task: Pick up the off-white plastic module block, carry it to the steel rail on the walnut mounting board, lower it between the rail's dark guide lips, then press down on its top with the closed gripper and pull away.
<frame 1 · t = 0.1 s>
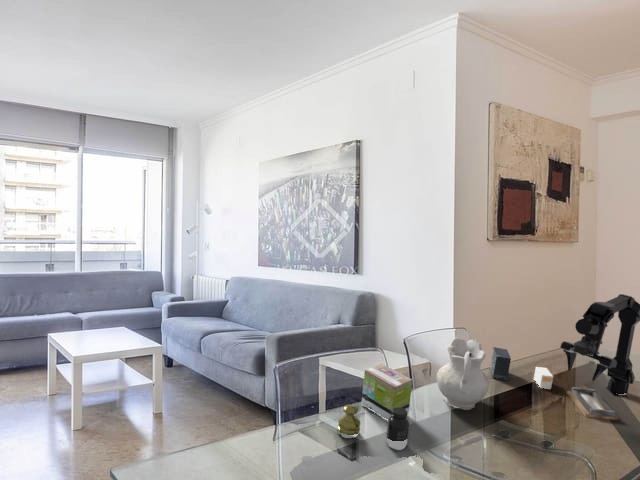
hand: (581, 375, 186), 15 cm above the table, tool pointing down, fingers open, 9 cm apart
module block: (542, 384, 211), on the table
ceramic pitcher: (460, 404, 190), on the table
small box: (498, 375, 218), on the table
rail mount: (591, 406, 196), on the table
supplement bottle: (396, 445, 161), on the table
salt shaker: (348, 433, 165), on the table
tea box: (384, 411, 181), on the table
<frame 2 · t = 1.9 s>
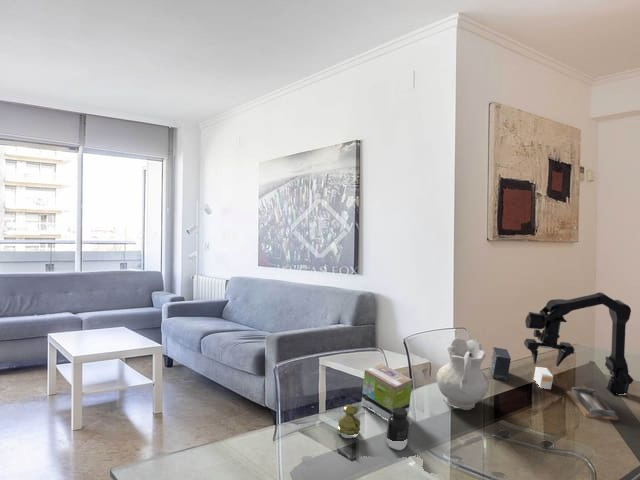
hand: (545, 364, 210), 9 cm above the table, tool pointing down, fingers open, 9 cm apart
nothing on the table moved.
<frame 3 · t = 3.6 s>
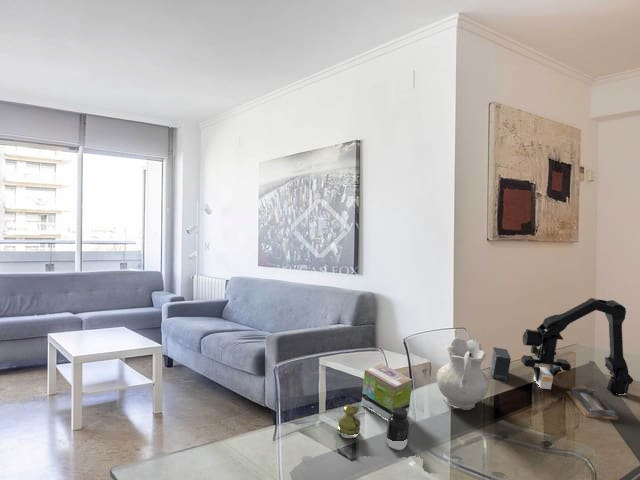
hand: (542, 381, 211), 1 cm above the table, tool pointing down, fingers closed on module block, 4 cm apart
module block: (542, 384, 211), on the table, touching gripper
everything else where it was.
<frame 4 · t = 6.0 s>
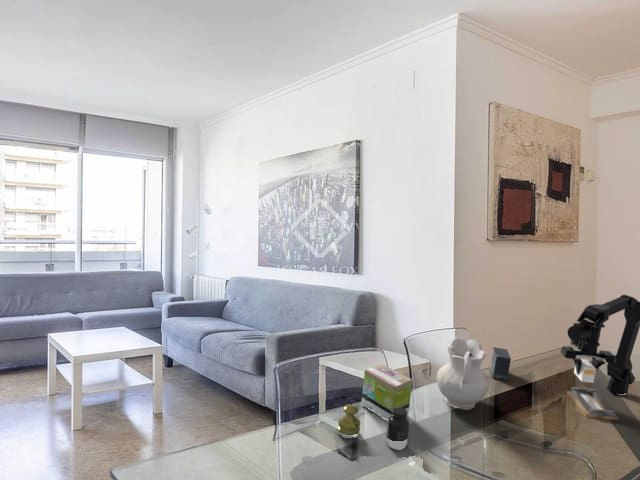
hand: (584, 374, 197), 11 cm above the table, tool pointing down, fingers closed on module block, 4 cm apart
module block: (583, 377, 197), point 10 cm above the table, touching gripper
everything else where it was.
when the fingers open (4 cm above the table, at t = 8.6 s): module block stays where it is, resting on rail mount.
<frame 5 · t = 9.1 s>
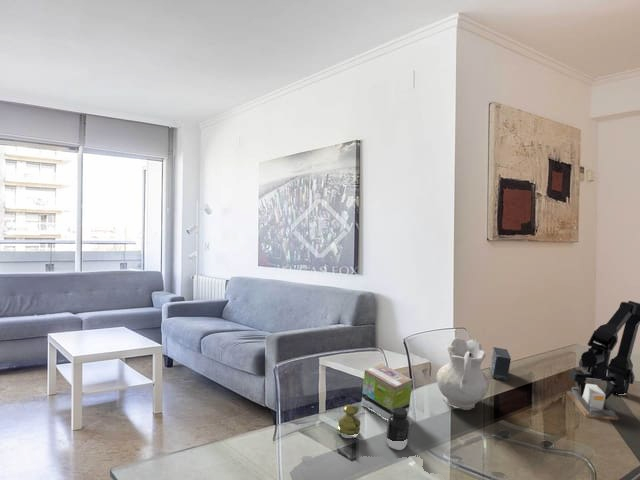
hand: (593, 397, 195), 4 cm above the table, tool pointing down, fingers open, 9 cm apart
module block: (592, 402, 195), point 1 cm above the table, touching rail mount
everything else where it was.
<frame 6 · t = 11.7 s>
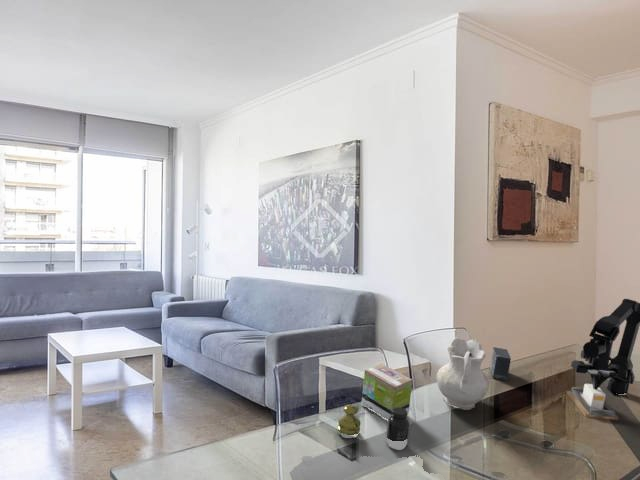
hand: (594, 388, 194), 7 cm above the table, tool pointing down, fingers closed, pressing on module block
module block: (592, 402, 195), point 1 cm above the table, touching gripper, rail mount
everything else where it was.
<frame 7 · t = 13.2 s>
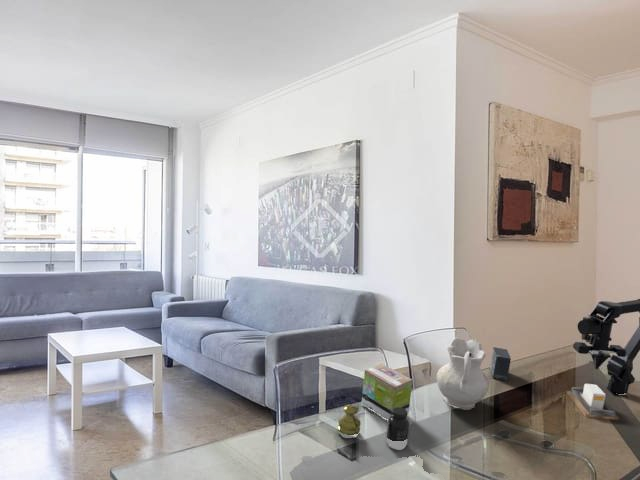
hand: (595, 368, 203), 12 cm above the table, tool pointing down, fingers closed
module block: (592, 402, 195), point 1 cm above the table, touching rail mount
everything else where it was.
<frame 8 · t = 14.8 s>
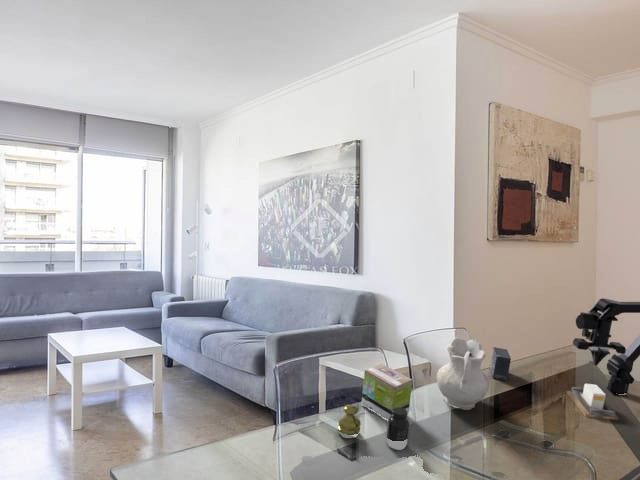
hand: (595, 365, 205), 12 cm above the table, tool pointing down, fingers closed
nothing on the table moved.
at the end: module block inside the target area on the rail mount (0.0 cm from its centre), point 1.4 cm above the rail mount's base; module block tilted 0°; the gripper is holding nothing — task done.
